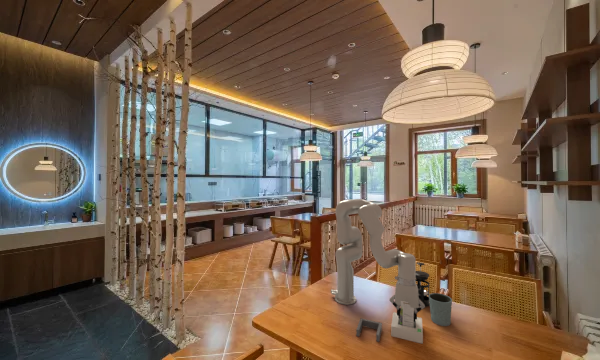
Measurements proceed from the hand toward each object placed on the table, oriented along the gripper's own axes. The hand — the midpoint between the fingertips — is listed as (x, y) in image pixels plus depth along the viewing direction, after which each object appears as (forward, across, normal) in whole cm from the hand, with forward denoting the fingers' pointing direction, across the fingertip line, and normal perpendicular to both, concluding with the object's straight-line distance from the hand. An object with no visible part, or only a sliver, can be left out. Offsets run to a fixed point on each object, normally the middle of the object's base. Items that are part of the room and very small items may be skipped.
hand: (406, 318), depth 116 cm
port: (+6, 0, 0) cm, 6 cm away
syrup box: (+5, 0, 0) cm, 5 cm away
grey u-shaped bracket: (+6, -16, -8) cm, 19 cm away
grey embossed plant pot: (+6, +15, +16) cm, 23 cm away
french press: (+6, +6, +32) cm, 33 cm away
